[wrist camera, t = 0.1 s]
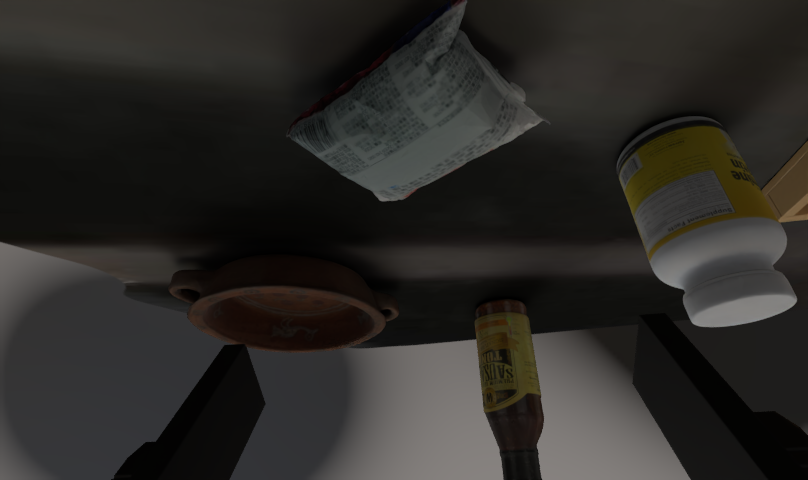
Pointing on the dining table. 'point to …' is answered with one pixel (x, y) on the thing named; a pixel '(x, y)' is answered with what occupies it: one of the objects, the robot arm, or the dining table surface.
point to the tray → (790, 189)
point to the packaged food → (416, 111)
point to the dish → (284, 303)
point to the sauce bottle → (510, 385)
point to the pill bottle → (705, 222)
